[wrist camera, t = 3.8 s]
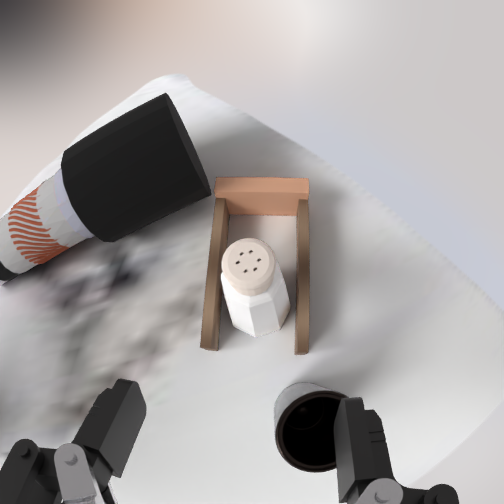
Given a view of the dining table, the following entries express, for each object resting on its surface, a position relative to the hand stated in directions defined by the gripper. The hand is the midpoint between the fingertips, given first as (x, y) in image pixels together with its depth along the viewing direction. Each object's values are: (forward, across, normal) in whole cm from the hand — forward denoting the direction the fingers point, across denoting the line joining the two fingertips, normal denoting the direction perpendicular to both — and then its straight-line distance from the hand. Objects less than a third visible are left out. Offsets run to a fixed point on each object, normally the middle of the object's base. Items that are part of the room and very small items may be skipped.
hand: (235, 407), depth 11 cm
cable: (+19, +22, +1) cm, 29 cm away
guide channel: (+16, 0, +2) cm, 17 cm away
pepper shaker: (+15, 0, +5) cm, 15 cm away
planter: (+8, -4, +11) cm, 14 cm away
